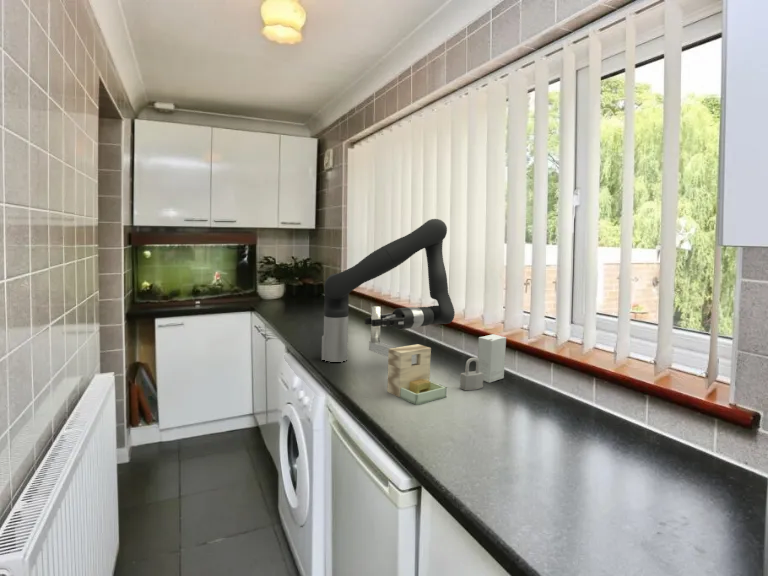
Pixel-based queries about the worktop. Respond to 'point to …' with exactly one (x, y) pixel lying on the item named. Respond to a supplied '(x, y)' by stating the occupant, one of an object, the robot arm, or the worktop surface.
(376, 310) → the crank handle
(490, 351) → the skincare box
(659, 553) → the worktop surface
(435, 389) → the tray
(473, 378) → the padlock
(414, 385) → the spacer
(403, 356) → the bearing block
